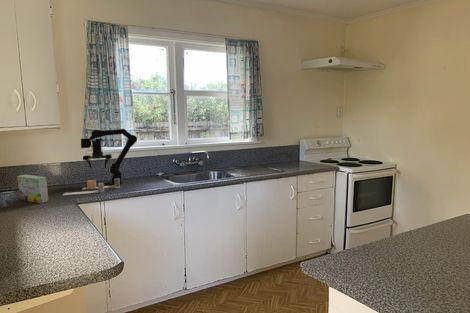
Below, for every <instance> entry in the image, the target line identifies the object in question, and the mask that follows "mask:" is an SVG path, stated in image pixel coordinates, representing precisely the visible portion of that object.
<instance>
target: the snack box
mask: <svg viewBox="0 0 470 313" xmlns="http://www.w3.org/2000/svg"><path fill="white" fill-rule="evenodd" d="M16 177H17V185H18V186H17V187H18V193H19V199H20V200H21V201H26V202H32V203H36V204H45V203H49V201H50V200H49V193H48V192H49V191H48V183H47V182H48V181H47V177H46V176H39V175H32V174H21V175H17V176H16Z"/></svg>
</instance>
